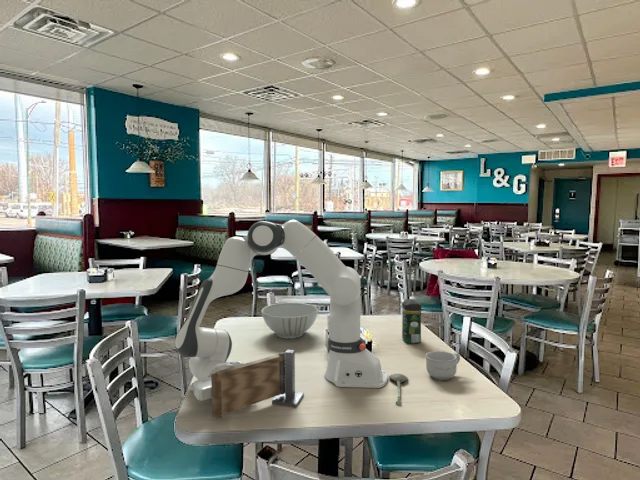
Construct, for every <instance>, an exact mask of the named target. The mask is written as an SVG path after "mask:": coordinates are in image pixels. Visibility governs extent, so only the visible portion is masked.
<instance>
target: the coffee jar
mask: <svg viewBox="0 0 640 480" xmlns="http://www.w3.org/2000/svg"><path fill="white" fill-rule="evenodd" d="M401 308H402V310H401V311H402V322H401V323H402V325H401V329H402V330H401V337H402V340H403V341H404V343H408V344H414V345H416V344H418V343H421V341H422V304H421V303H420V302H419V301H417V300H416V299H415V298H412V299H411V298H410V299H409V298H408V299H407V298H406V299H405V300H403V301H402V307H401Z"/></svg>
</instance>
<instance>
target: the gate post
mask: <svg viewBox="0 0 640 480" xmlns="http://www.w3.org/2000/svg"><path fill="white" fill-rule="evenodd" d="M295 351H296V350H294V349H287V350H286V351H285V352H284V353H285V394H280V395H278V396H275V397H273V399H272V401H271V405H275V406H276V405H277V406H285V407H290V406H291V408H297V407H298V405H299V404H300V402H301V400H302V399H303V398H304V396H305V394H304V392H301V391H296V371H295V370H296V368H295V367H296V364H295V363H296V360H295V359H296V358H295V357H296V355H295V353H296V352H295Z"/></svg>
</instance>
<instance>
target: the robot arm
mask: <svg viewBox="0 0 640 480" xmlns="http://www.w3.org/2000/svg"><path fill="white" fill-rule="evenodd" d="M279 248H280V249H281V248H282V249H284V250H285V251H287V252H289V254H290V255H291V256H292V257H294V259H296V261H298V262H299V263H300V265H302V266H303V268H305V269H306V270H307V271H308V272H309V274H311V276H312V277H313V278H314V279H315V280H316V282H317V283H318V284H319V285H320V286H321V288H322V289H323V290H324V291H325V293H326V294H327V295H328V296H329V313H330V314H329V313H328V314H329V338H328V337H327V353H328V358H327V363H326V364H327V365H326V370H325V372H324V377H325V379H326V380H327V381H329V382H331V383H333V384H334V385H335V386H336V387H337V388H365V389H366V388H367V389H371V388H372V389H379V388H382V387H384V386H385V385H386V384H387V383H388V379H389V376H388V371H386V370H384V369H382V364H381V361H380V359H379V358H378V356H376V355H375V354H374V353H372V352H371V351H370V350H368V349H367V348H366V345H367V341H366V338H364V339H363V338H362V337H361V285H362V284H361V276H360V274H359V273H358V272H357V270H355V269H354V268H352V267H350V266H346V265H345V264H344V263H343V261H341V259H340V258H339V257H338V256H337V255H336V254H335V252H334V251H333V250H332V249H331V248H330V247H329V246H328V244H326V243H325V242H324V241H323V240H322V239H321V238H320V237H319V236H318V235H317V234H315V232H313V230H311V229H310V228H309V227H307V226H306V225H304V224H303V223H301V222H300V221H298V220H297V219H290V220H287V221H285V222H284V223H283V224H281V225H280V224H278V223H274V222H271V221H266V220H265V221H264V220H260V221H257V222H254V223H253V224H252V225H251V226H250V228H249V229H248V231H247V235H246V236H245V237H242V236H232V237H229V238H227V239H226V240H225V242H224V244H223V246H222V249H221V251H220V254H219V256H218V260H217V262H216V266H215V269H214V271H213V273H212V274H211V275H210V277H208V278H207V279H204V280H203V281H202V283H201V285H200V286H199V288H198V290H197V292H196V294H195V297H194V299H193V301H192V303H191V305H190V307H189V308H190V309H189V310H188V312H187V315H186V317H185V319H184V321H183V324H181V327H180V329H178V331H177V334H176V336H175V339H174V348H175V350H176V351H177V353H178V354H179V355H180V357H182V358H189V362H188V367H189V370H190V373H191V374H192V375H193V376H194V377H195V379H196V380H195V381H193V382H191V384H190V385H188V390H190V391H191V392H193V395H194V397H195V398H196V400H197V401H206V400H209V399H212V384H211V374H214V373H215V372H216V371H220V370H224V369H227V368H231V367H234V366H238V365H242V364H244V362H243V361H240V360H239V361H227V360H228V359H229V356H230V354H231V353H232V347H233V341H232V338H231V335H230V333H229V332H228V331H227V330H226V329H221V328H213V327H212V328H210V327H203V326H202V327H201V324H202V321H203V318H204V316H205V315H206V311H207V309H208V307H209V305H210V303H212V301H214V300H216V299H218V298H220V297H224V296H225V297H226V296H229V295H233V294H235V293H237V292H239V291H241V289H243V287H244V286H245V284H246V282H247V279H248V276H249V271H250V267H251V262H252V260H253V258H254V257H260V256H261V257H262V256H268V255H272V254H274V253H275V252H276V251H277V250H278V249H279Z"/></svg>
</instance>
